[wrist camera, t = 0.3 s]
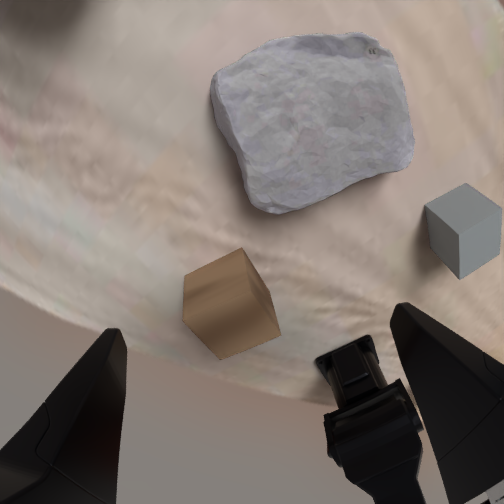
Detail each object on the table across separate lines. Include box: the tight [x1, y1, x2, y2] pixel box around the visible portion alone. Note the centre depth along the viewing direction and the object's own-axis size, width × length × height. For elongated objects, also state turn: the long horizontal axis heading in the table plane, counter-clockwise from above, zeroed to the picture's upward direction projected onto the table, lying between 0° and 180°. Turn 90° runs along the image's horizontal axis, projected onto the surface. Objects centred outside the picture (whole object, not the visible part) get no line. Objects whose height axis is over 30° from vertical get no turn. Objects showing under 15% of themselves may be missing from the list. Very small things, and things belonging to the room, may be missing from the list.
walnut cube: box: [183, 248, 281, 360], centre depth 24 cm, size 5×5×5 cm
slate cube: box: [425, 183, 502, 280], centre depth 23 cm, size 5×5×5 cm
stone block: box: [210, 32, 415, 215], centre depth 18 cm, size 12×5×10 cm
